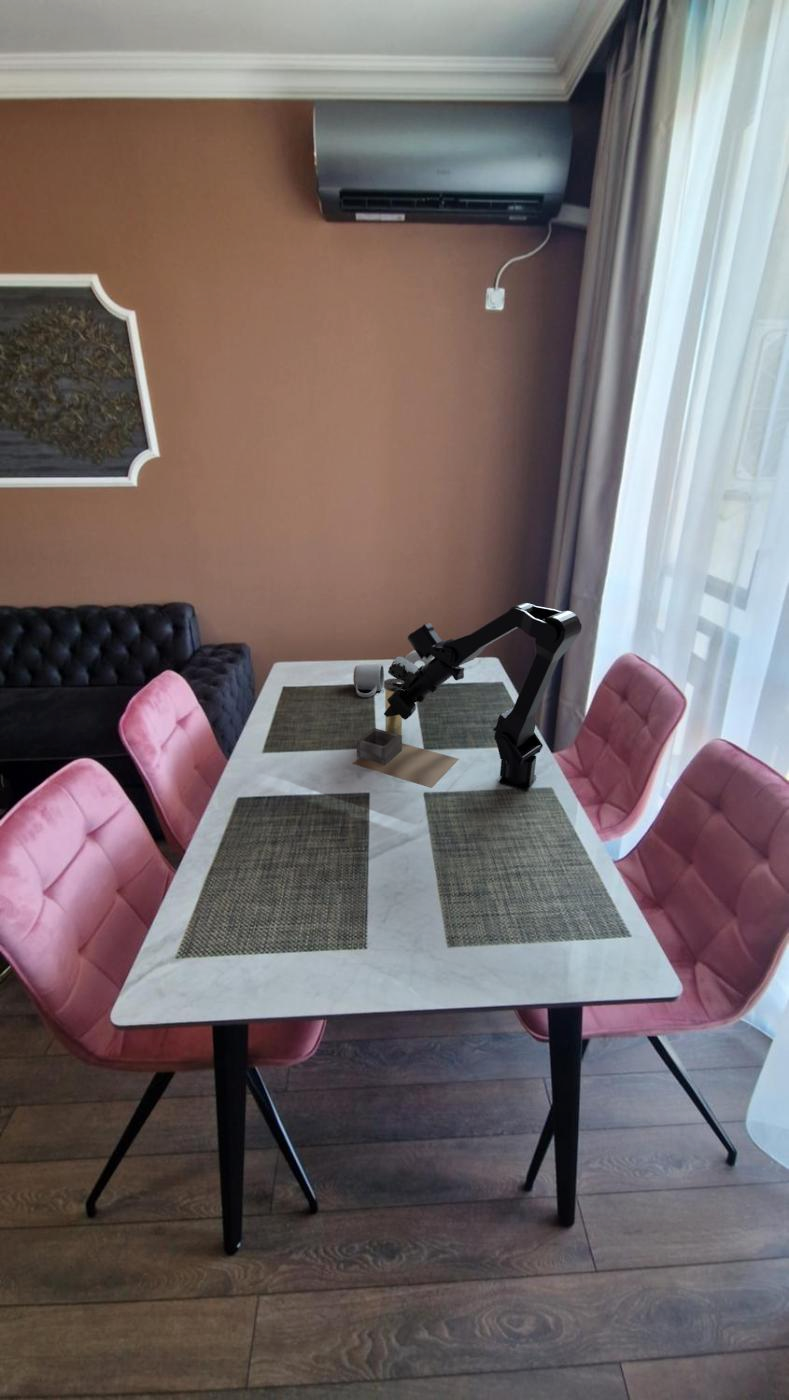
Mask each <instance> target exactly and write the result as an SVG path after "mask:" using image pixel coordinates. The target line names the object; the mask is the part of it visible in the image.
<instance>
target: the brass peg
mask: <svg viewBox="0 0 789 1400" xmlns="http://www.w3.org/2000/svg"><path fill="white" fill-rule="evenodd" d="M403 682H404V681H402V680H400V679H399V680H398V679H397V678H388V679H386V680H385V679H384V685H383V688H384V691H385V696H384V699H385V700H384V701H385V702H384V703H385V711H386V710H387V709H388V707H389V706H390V704H389V703H388V700H387V699H388V698H389V697H390V696H391V695H392V694H393V693H394V692H395V691H396V690H402V689H403V685H402V684H403ZM385 711H384V712H385ZM384 717H385V723H384V725H385V731H387V732H391V733H395V734H398V735H402V736H403V718H402V717H401V716H400V715H395V716H390V717H386V716H385V715H384Z"/></svg>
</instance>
